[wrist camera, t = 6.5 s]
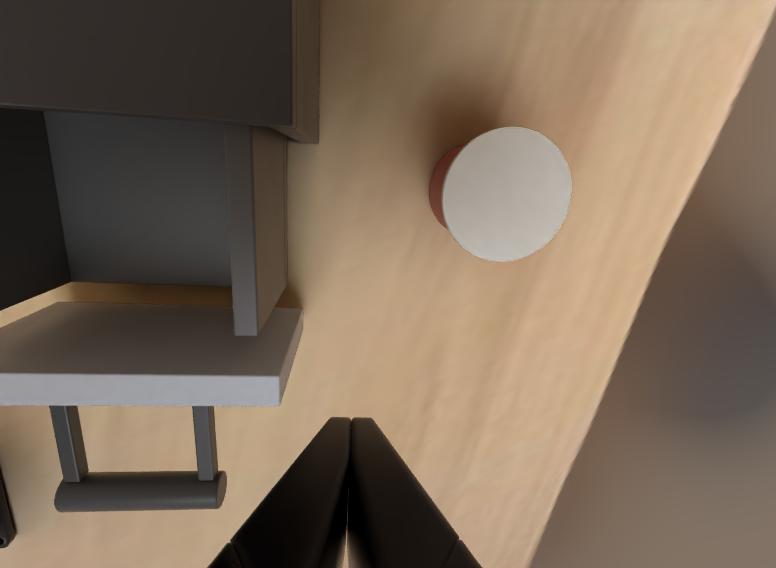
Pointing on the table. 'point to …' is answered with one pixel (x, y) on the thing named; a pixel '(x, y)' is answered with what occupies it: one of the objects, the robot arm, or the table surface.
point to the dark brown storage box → (166, 60)
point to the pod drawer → (143, 266)
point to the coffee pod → (502, 193)
